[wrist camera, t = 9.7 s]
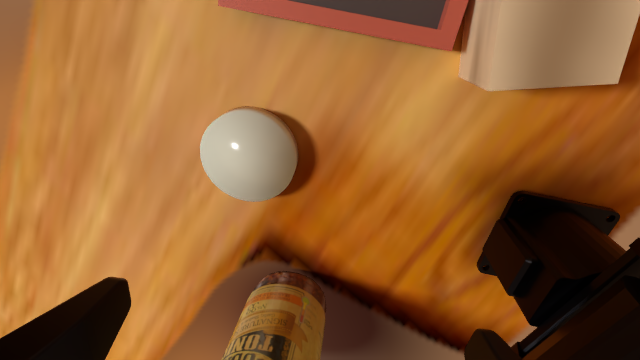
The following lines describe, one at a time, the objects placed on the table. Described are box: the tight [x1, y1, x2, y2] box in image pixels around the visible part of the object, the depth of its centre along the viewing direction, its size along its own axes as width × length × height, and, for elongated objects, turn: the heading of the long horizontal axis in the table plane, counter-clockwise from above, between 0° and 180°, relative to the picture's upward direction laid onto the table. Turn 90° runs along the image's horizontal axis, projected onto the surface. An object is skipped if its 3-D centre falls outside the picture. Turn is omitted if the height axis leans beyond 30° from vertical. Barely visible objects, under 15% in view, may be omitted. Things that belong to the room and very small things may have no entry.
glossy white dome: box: [200, 106, 298, 202], centre depth 20 cm, size 6×6×2 cm
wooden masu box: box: [458, 0, 640, 91], centre depth 14 cm, size 5×5×4 cm
